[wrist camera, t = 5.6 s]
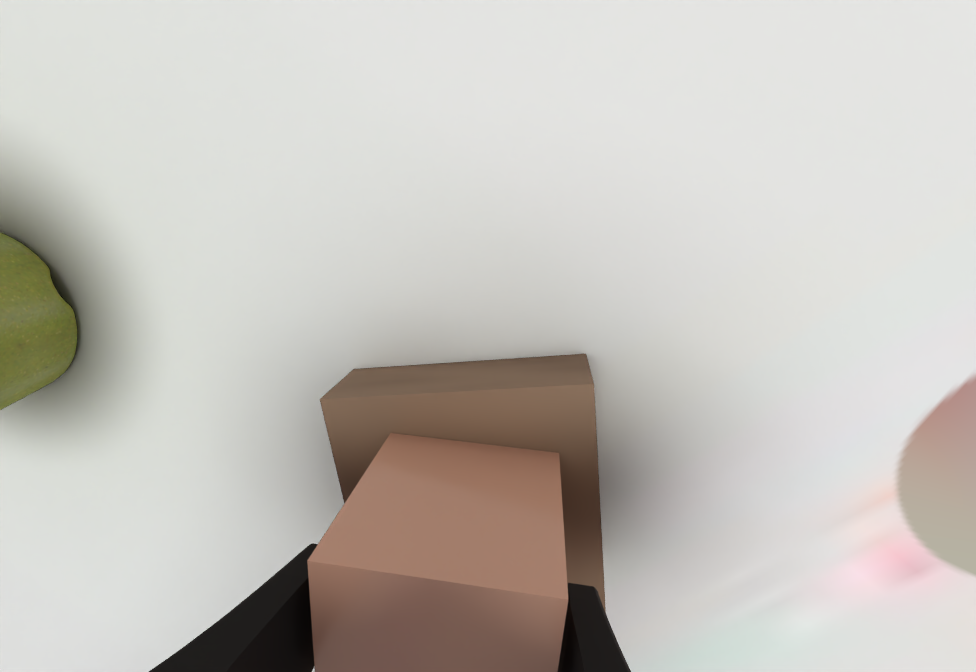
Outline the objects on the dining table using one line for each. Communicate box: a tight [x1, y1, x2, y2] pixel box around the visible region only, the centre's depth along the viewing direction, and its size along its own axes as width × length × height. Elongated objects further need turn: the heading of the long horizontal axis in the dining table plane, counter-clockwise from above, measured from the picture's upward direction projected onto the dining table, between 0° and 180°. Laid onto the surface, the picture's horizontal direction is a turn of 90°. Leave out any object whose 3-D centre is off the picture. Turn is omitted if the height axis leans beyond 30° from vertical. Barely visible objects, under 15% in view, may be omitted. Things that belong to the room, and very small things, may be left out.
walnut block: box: [320, 354, 606, 613], centre depth 15 cm, size 8×8×3 cm
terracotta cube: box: [307, 433, 568, 672], centre depth 12 cm, size 5×5×5 cm
